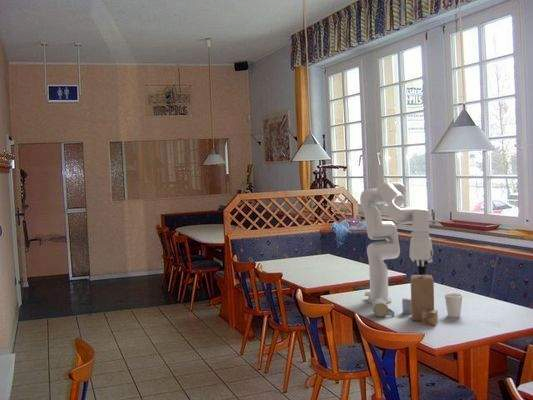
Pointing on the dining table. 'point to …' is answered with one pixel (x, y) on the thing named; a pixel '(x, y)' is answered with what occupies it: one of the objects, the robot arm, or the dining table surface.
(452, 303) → the dixie cup
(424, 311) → the walnut cube
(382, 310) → the ceramic mug
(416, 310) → the block
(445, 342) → the dining table surface
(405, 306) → the bluegrey post
